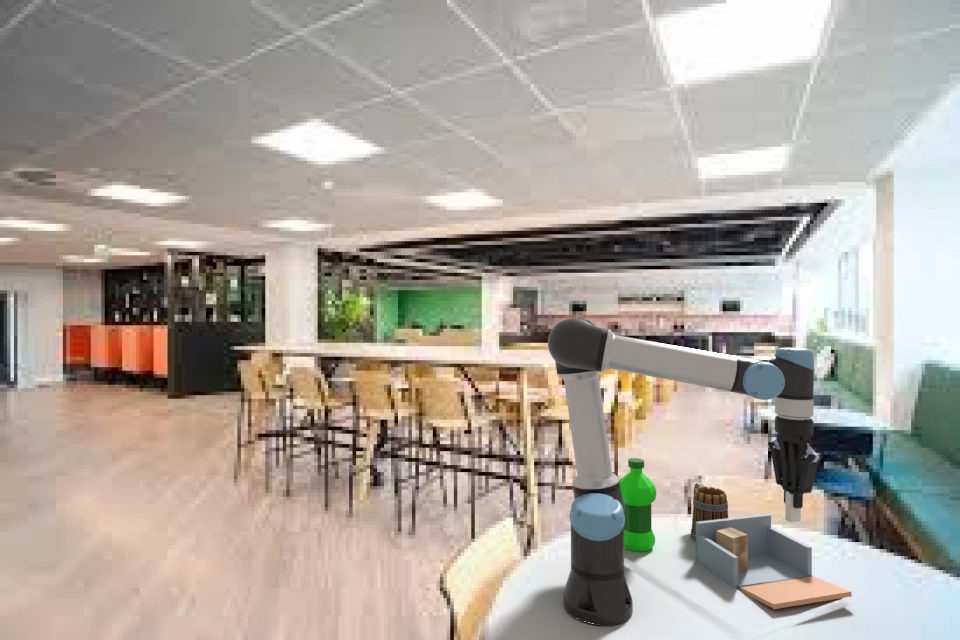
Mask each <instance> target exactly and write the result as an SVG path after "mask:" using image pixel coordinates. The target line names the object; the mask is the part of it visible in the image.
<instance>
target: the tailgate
mask: <svg viewBox="0 0 960 640" xmlns="http://www.w3.org/2000/svg"><path fill="white" fill-rule="evenodd" d="M736 588H737V589H738V590H740V591H741V592H742V593H744V594H745V595H747V596H748V597H750V598H752V599H753V600H755V601H758V602H759V603H762V604H763V605H765V606H767V607H770V608H771V609H773V610H778V609H784V608H789V607H797V606H802V605H807V604H809V605H810V604H813V603H821V602H825V601H833V600H837V599H843V598H851V597H852V595H853V594H852V591H851V590H848V589H845V588H843V587H841V586H839V585H836V584H834V583H830V582H828V581H826V580H823V579H821V578H818V577H816V576H813V575H808V576H802V577H795V578H788V579H782V580H775V581H768V582H762V583H755V584H748V585H742V586H738V587H736Z"/></svg>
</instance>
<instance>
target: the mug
mask: <svg viewBox="0 0 960 640" xmlns="http://www.w3.org/2000/svg"><path fill="white" fill-rule="evenodd" d="M727 497H728V496H727V493H726V491H725V490H722V489H720V488H715V487H712V486H709V487H708V486H705V485H704V483H702V482H698V483H697V482H696V483H695V484H694V487H693V499H692V505H693V507H692V517H691V518H692V520H691V521H692V522H691V529H690V539H691V540H693V542H695V543H696V522H699V521H708V520H717V519H726V518H729V511H728V510H729V502H728V499H727Z"/></svg>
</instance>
